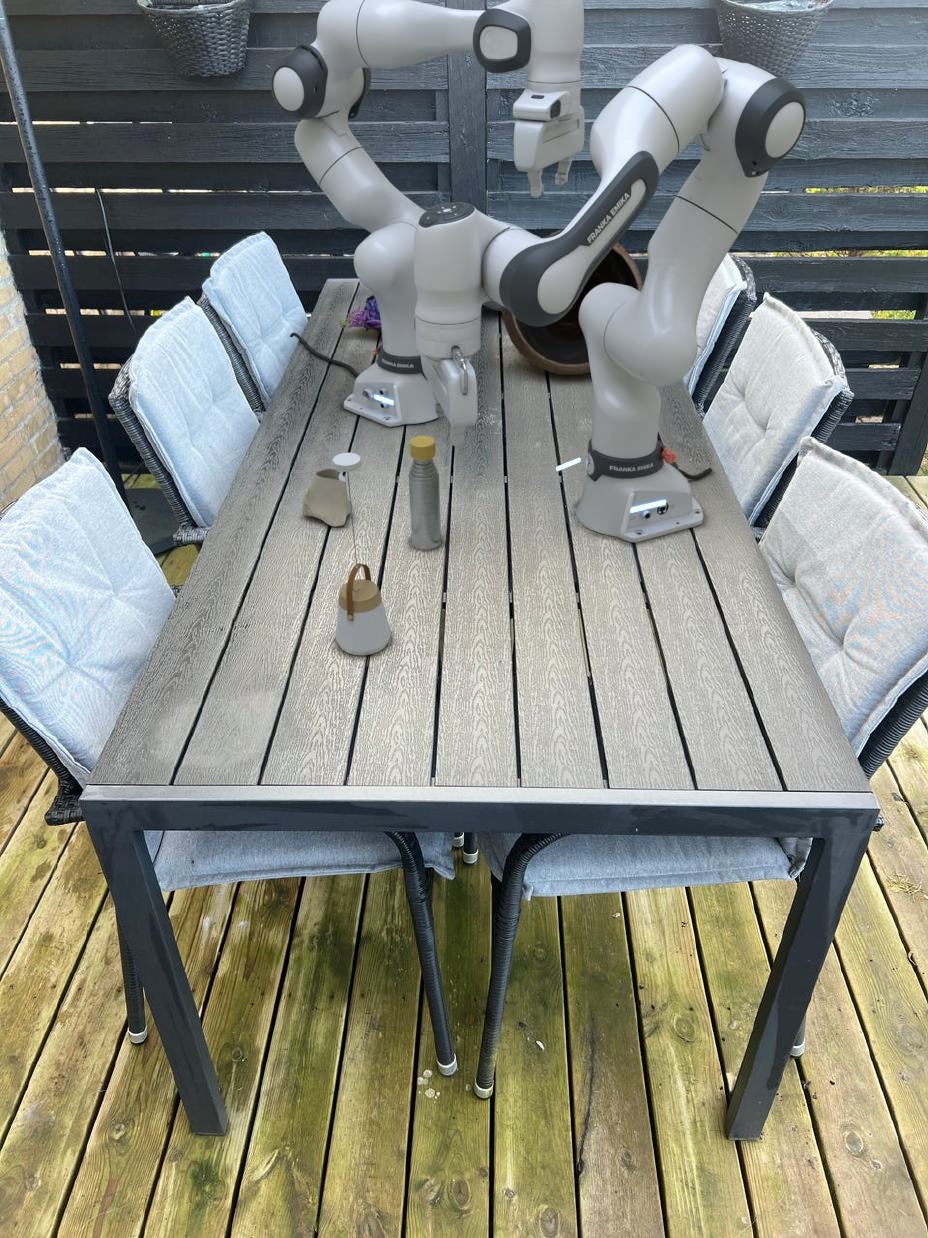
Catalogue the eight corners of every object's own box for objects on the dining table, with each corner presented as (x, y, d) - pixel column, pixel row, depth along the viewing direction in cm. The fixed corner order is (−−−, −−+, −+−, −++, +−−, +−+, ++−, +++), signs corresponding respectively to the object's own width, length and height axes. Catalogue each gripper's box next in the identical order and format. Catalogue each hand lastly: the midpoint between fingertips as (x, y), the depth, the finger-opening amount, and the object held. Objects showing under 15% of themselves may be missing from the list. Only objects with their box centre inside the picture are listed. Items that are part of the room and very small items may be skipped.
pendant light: (377, 661, 135) (361, 478, 117) (326, 649, 137) (303, 468, 119) (399, 628, 141) (388, 450, 123) (351, 617, 143) (332, 440, 125)
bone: (352, 523, 169) (358, 468, 167) (345, 530, 162) (351, 474, 159) (303, 516, 169) (308, 461, 167) (294, 523, 162) (299, 466, 159)
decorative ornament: (459, 312, 230) (337, 314, 227) (457, 347, 238) (340, 349, 236) (454, 280, 238) (336, 281, 235) (453, 315, 246) (339, 317, 244)
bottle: (446, 539, 161) (444, 441, 150) (429, 553, 158) (425, 453, 146) (423, 531, 163) (419, 433, 152) (406, 543, 160) (400, 445, 149)
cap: (440, 453, 151) (440, 439, 149) (425, 463, 148) (424, 449, 147) (420, 446, 153) (420, 433, 151) (405, 456, 150) (404, 442, 149)
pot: (527, 218, 229) (547, 194, 200) (639, 277, 234) (675, 262, 205) (471, 342, 235) (483, 336, 206) (582, 397, 240) (609, 398, 211)
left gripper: (563, 89, 161) (558, 175, 170) (507, 107, 147) (505, 200, 156) (596, 91, 159) (590, 179, 167) (543, 110, 145) (539, 205, 153)
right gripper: (490, 361, 118) (488, 459, 126) (454, 307, 134) (454, 398, 142) (441, 365, 117) (443, 464, 125) (411, 311, 133) (414, 402, 141)
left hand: (549, 189), depth 161 cm, fingers open, 8 cm apart
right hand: (449, 428), depth 134 cm, fingers open, 8 cm apart
